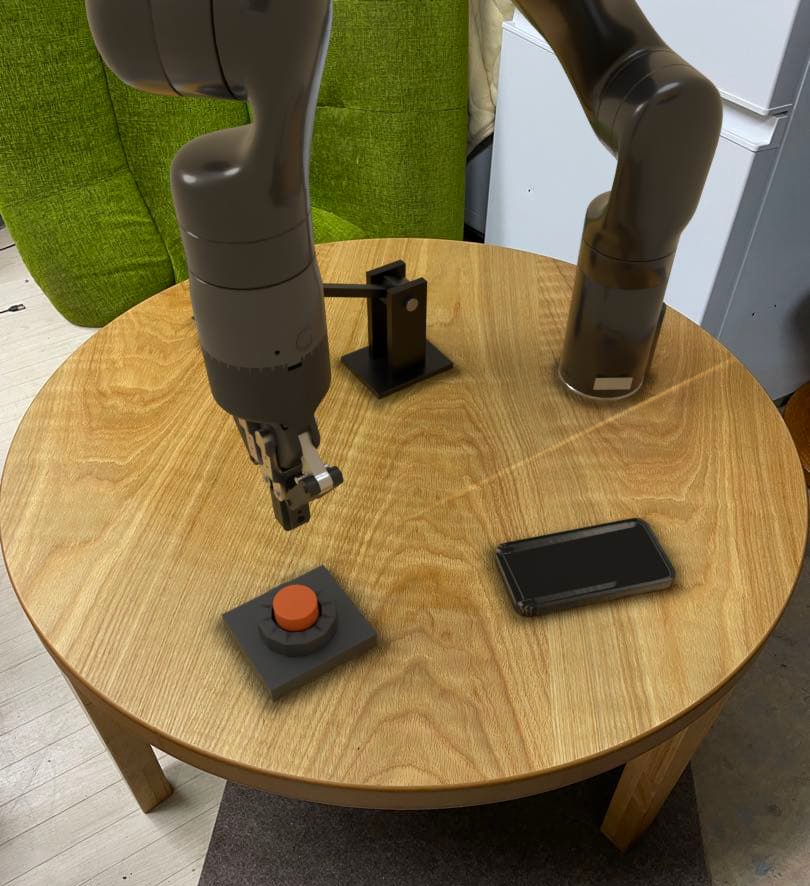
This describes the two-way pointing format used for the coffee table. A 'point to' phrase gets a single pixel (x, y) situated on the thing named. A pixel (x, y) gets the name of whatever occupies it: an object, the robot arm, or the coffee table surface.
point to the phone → (583, 566)
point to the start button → (295, 608)
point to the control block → (299, 635)
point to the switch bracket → (396, 337)
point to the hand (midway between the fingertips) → (293, 520)
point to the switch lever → (364, 288)
